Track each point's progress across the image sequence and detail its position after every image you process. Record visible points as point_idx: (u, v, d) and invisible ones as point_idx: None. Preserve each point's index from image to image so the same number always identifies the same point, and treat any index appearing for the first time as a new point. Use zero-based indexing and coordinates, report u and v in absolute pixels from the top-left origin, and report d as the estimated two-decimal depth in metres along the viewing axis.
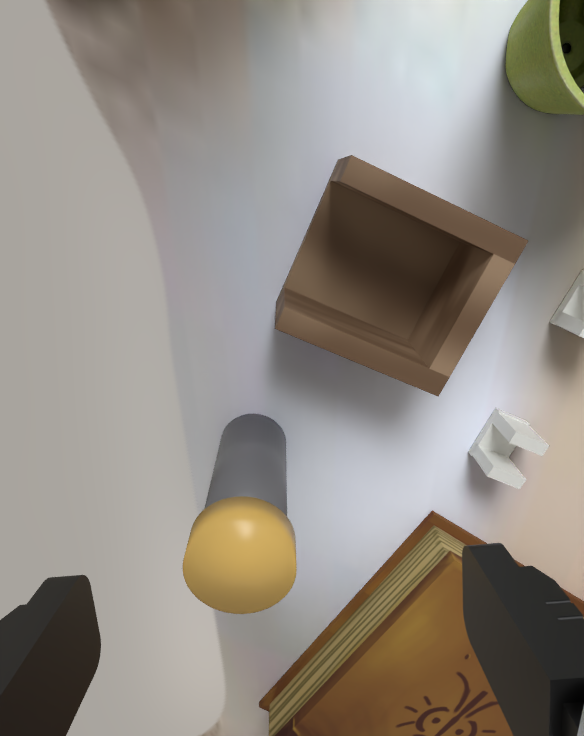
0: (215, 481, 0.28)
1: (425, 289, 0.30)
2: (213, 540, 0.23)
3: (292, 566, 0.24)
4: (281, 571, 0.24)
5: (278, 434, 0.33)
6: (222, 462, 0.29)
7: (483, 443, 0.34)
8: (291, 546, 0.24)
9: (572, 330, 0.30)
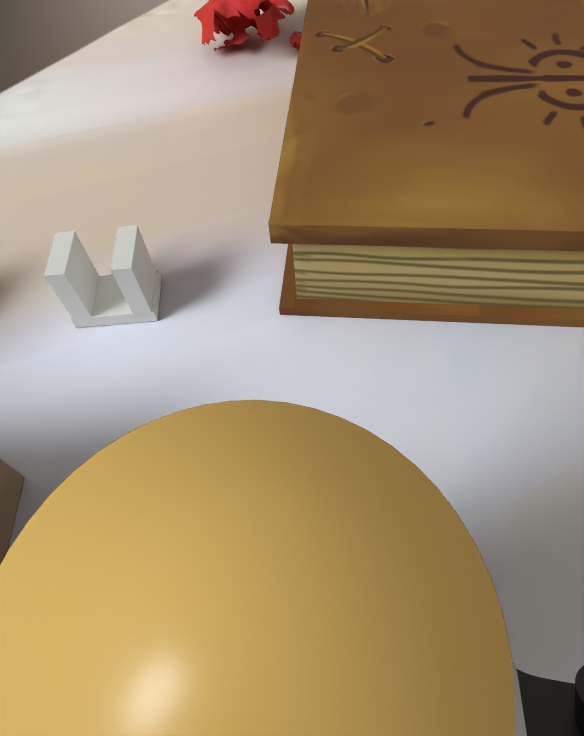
0: None
1: None
2: None
3: (137, 441, 0.06)
4: (174, 468, 0.06)
5: None
6: None
7: (127, 309, 0.22)
8: None
9: None
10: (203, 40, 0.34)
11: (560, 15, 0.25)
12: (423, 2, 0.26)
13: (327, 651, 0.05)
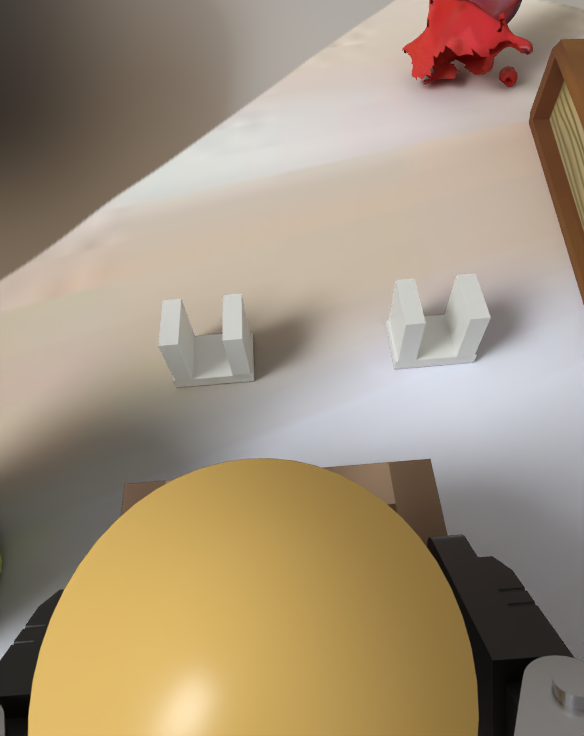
0: None
1: None
2: None
3: (168, 495, 0.07)
4: (199, 519, 0.07)
5: None
6: None
7: (449, 352, 0.23)
8: None
9: (242, 350, 0.21)
10: (416, 74, 0.34)
11: None
12: None
13: (328, 676, 0.06)
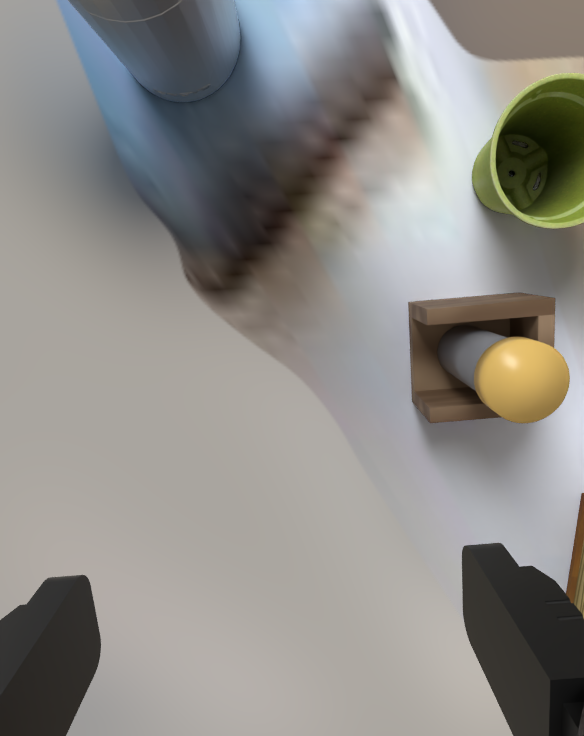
0: (465, 360, 0.37)
1: None
2: (499, 368, 0.32)
3: (562, 361, 0.31)
4: (556, 369, 0.32)
5: (480, 328, 0.42)
6: (459, 352, 0.38)
7: None
8: (553, 348, 0.32)
9: None
10: None
11: None
12: None
13: (524, 397, 0.32)
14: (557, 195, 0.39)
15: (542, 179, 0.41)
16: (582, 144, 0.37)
